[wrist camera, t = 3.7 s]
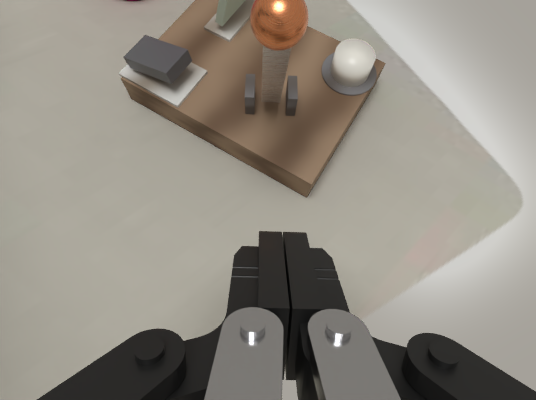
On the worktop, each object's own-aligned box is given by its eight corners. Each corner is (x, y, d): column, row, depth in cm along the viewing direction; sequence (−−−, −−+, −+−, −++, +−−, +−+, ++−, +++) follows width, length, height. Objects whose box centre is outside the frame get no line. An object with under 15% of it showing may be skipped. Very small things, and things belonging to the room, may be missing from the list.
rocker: (130, 67, 31) (123, 57, 30) (151, 46, 32) (145, 34, 31) (171, 84, 29) (166, 73, 28) (192, 60, 30) (187, 49, 29)
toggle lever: (287, 111, 30) (311, 35, 16) (253, 109, 30) (248, 32, 16) (288, 76, 30) (313, -28, 16) (254, 75, 30) (250, -31, 16)
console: (129, 97, 35) (107, 57, 30) (214, 5, 39) (208, -43, 34) (307, 198, 31) (317, 172, 26) (376, 84, 36) (395, 44, 31)
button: (323, 76, 32) (328, 59, 30) (340, 50, 34) (346, 32, 31) (357, 93, 32) (365, 77, 30) (374, 67, 33) (382, 49, 31)
